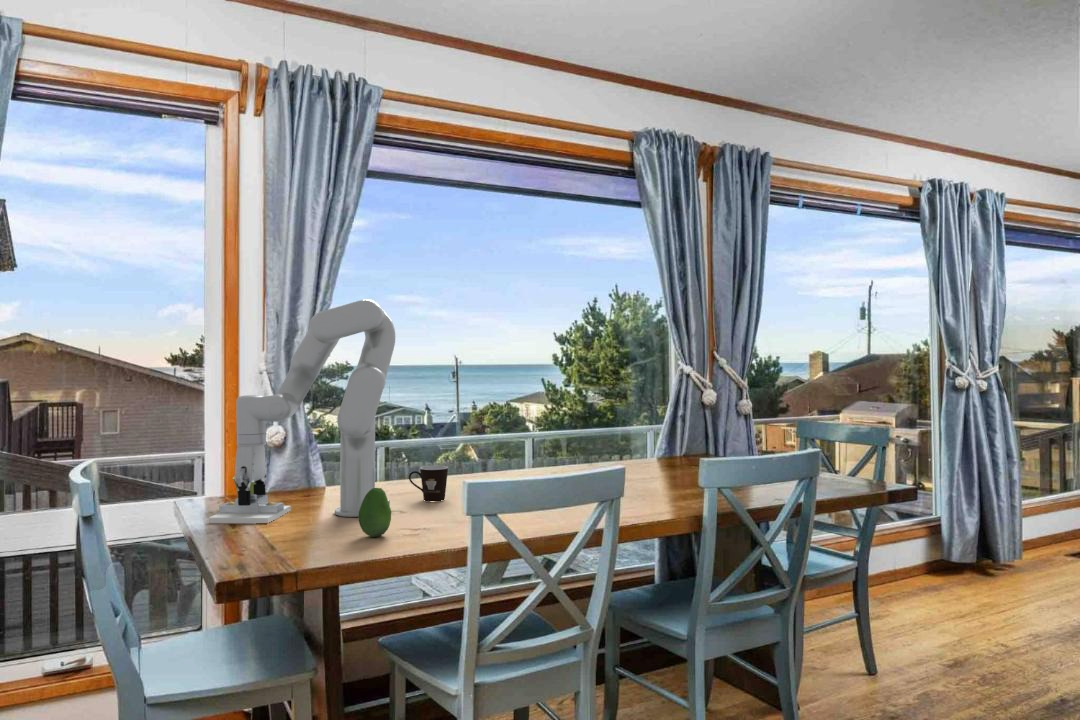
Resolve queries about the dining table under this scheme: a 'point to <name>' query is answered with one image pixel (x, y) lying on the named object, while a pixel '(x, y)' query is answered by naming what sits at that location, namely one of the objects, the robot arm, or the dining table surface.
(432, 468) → the coffee mug
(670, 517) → the dining table surface
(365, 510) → the avocado
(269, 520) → the post block
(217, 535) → the dining table surface
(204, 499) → the dining table surface
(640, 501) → the dining table surface
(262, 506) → the bracket
